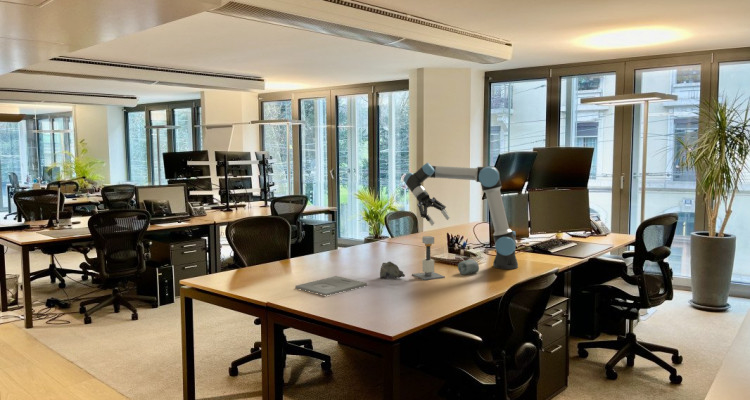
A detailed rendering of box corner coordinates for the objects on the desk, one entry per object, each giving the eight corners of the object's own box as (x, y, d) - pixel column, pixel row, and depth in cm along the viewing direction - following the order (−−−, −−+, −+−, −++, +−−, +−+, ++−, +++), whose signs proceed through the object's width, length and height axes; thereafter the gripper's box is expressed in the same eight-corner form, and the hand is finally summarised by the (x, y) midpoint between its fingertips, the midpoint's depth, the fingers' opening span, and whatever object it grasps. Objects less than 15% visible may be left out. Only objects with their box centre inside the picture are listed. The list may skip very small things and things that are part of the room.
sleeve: (422, 271, 333) (422, 259, 332) (429, 270, 335) (429, 258, 334) (426, 272, 328) (426, 260, 327) (434, 271, 330) (434, 260, 329)
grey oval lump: (464, 271, 329) (463, 255, 333) (455, 276, 337) (453, 260, 341) (483, 274, 335) (481, 258, 339) (473, 279, 343) (471, 263, 347)
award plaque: (366, 286, 311) (366, 282, 311) (326, 297, 289) (326, 293, 289) (336, 279, 327) (336, 275, 327) (295, 289, 306) (295, 285, 305)
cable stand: (411, 275, 335) (412, 236, 333) (432, 272, 341) (432, 234, 338) (423, 280, 322) (423, 239, 320) (444, 277, 328) (445, 237, 326)
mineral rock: (406, 279, 326) (406, 262, 325) (392, 282, 319) (392, 264, 318) (390, 275, 336) (390, 258, 335) (377, 278, 329) (377, 261, 328)
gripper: (432, 194, 359) (451, 220, 351) (403, 202, 343) (423, 230, 336) (437, 186, 354) (457, 212, 346) (409, 195, 338) (429, 223, 330)
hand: (441, 221), depth 341 cm, fingers open, 13 cm apart
